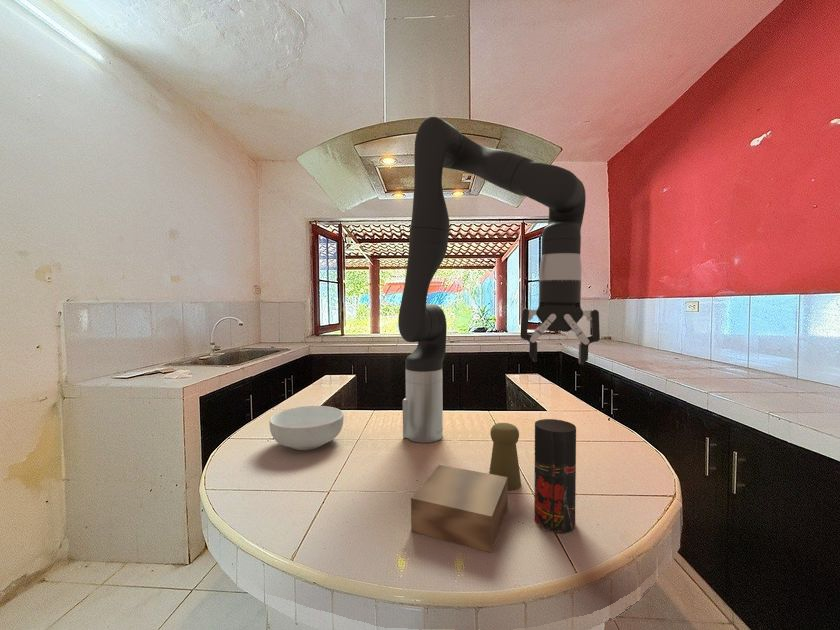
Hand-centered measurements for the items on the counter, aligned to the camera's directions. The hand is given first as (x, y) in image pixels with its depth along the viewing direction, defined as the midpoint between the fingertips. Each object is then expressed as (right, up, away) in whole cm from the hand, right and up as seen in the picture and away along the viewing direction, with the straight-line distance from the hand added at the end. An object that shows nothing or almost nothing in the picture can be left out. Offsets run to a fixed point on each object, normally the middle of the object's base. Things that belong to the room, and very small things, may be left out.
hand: (557, 362), depth 72 cm
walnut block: (-20, -23, -14) cm, 33 cm away
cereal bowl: (-54, -22, +17) cm, 60 cm away
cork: (-11, -22, -3) cm, 25 cm away
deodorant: (-6, -23, -15) cm, 28 cm away
